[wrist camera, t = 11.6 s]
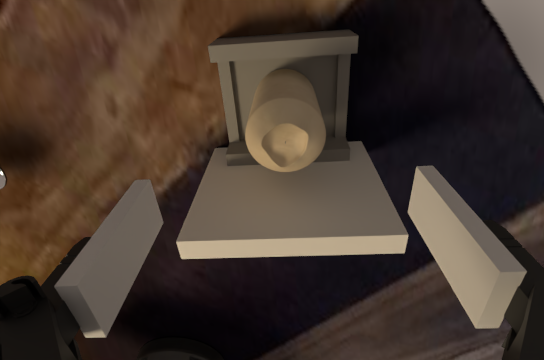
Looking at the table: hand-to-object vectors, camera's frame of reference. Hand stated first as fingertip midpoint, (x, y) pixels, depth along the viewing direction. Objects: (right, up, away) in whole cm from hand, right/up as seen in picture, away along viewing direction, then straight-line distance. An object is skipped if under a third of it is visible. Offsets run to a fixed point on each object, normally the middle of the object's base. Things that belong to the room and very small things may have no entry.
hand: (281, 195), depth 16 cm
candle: (+1, +8, +13) cm, 15 cm away
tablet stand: (+1, +9, +14) cm, 16 cm away
